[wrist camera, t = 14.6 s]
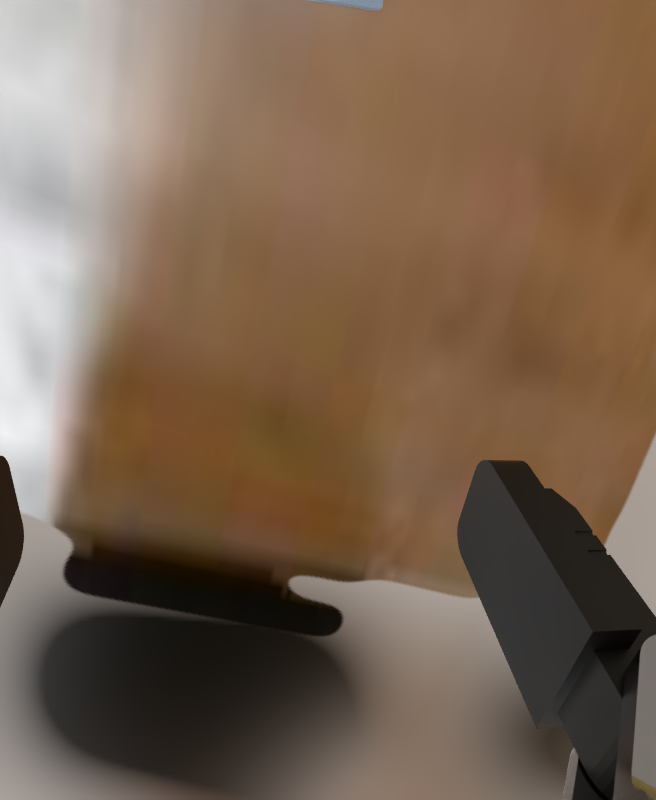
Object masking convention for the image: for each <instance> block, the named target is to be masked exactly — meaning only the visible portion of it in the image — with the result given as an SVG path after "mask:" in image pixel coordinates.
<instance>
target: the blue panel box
mask: <svg viewBox="0 0 656 800" xmlns="http://www.w3.org/2000/svg"><path fill="white" fill-rule="evenodd" d="M309 1H315V2H321V3H328V4H334V5H340V6H347V7H353V8H360V9H366V10H372V11H378V10H381V9H382V4H383V0H309Z"/></svg>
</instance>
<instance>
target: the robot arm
mask: <svg viewBox="0 0 656 800" xmlns="http://www.w3.org/2000/svg"><path fill="white" fill-rule="evenodd" d="M457 536H458V545H459V550H460V553H461V556H462V558H463V561H464V563H465V565H466V568H467V570H468V572H469V575H470V577H471V579H472V581H473V584H474V586H475V588H476V591H477V593H478V595H479V598H480V600H481V602H482V604H483V607H484V609H485V611H486V613H487V616H488V618H489V620H490V623H491V625H492V627H493V630H494V632H495V634H496V637H497V639H498V641H499V643H500V646H501V648H502V650H503V653H504V655H505V657H506V660H507V662H508V664H509V666H510V669H511V671H512V673H513V676H514V678H515V680H516V683H517V685H518V687H519V689H520V692H521V694H522V696H523V699H524V701H525V703H526V705H527V708H528V710H529V712H530V715H531V716H532V719H533V722H534V724H535V726H536V728H537V729H541V728H554V727H565V729H566V731H567V733H568V736H569V738H570V740H571V742H572V744H573V746H574V749H573V750H572V752H571V755H570V759H569V765H568V771H567V777H566V783H565V789H564V794H563V800H656V617H655V615H654V614H653V613H652V612H651V610H650V609H649V607H648V606H647V604H646V603H645V602H644V600H643V599H642V598H641V596H640V595H639V594H638V592H637V591H636V589H635V588H634V587H633V586H632V584H631V583H630V581H629V580H628V579H627V577H626V576H625V575H624V573H623V572H622V570H621V569H620V568H619V566H618V565H617V564H616V562H615V561H614V559H613V558H612V557H611V555H607V553H606V548H605V547H604V546H603V544H602V543H601V542H600V540H599V539H598V538H597V536H596V535H594V536H593V534H592V529H591V528H590V527H589V525H588V524H587V523H586V521H585V520H584V518H583V517H582V516H581V514H580V513H579V512H578V510H577V509H576V508H575V507H574V506H573V505H571V504H570V503H569V502H568V501H566V500H565V499H564V498H563V497H561V496H560V495H559V494H558V493H556V492H555V491H554V490H553V489H546V488H544V487H543V485H542V484H541V483H540V481H539V480H538V478H537V477H536V475H535V474H534V472H533V471H532V470H531V468H530V467H529V465H528V464H527V463H525V462H524V461H503V460H483V461H481V462H480V463H479V464H478V466H477V467H476V470H475V473H474V476H473V479H472V482H471V485H470V488H469V491H468V494H467V497H466V500H465V503H464V507H463V510H462V513H461V516H460V519H459V523H458V531H457ZM23 543H24V530H23V523H22V519H21V515H20V510H19V506H18V502H17V497H16V493H15V489H14V484H13V480H12V476H11V471H10V467H9V464H8V462H7V460H6V459H5V458H4V457H3V456H0V607H1V604H2V602H3V600H4V597H5V595H6V593H7V591H8V588H9V586H10V584H11V581H12V579H13V577H14V575H15V572H16V570H17V567H18V565H19V562H20V559H21V555H22V550H23Z"/></svg>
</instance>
